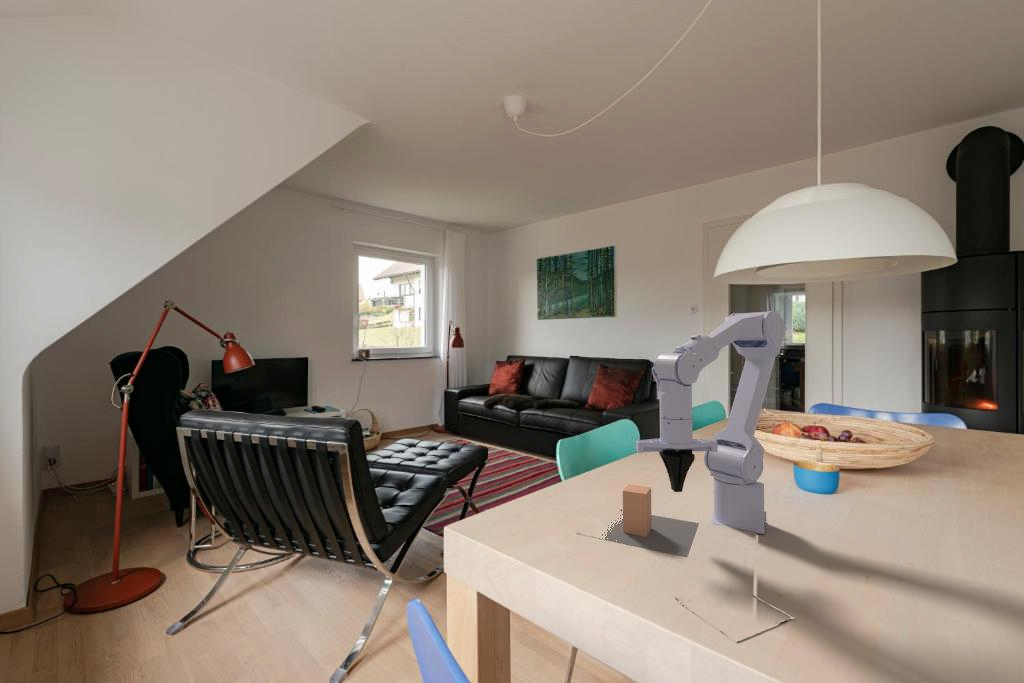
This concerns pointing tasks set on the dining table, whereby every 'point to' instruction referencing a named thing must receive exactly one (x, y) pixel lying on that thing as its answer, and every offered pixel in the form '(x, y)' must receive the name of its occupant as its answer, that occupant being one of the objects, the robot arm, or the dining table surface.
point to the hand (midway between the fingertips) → (676, 490)
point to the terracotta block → (637, 510)
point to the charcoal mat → (658, 536)
